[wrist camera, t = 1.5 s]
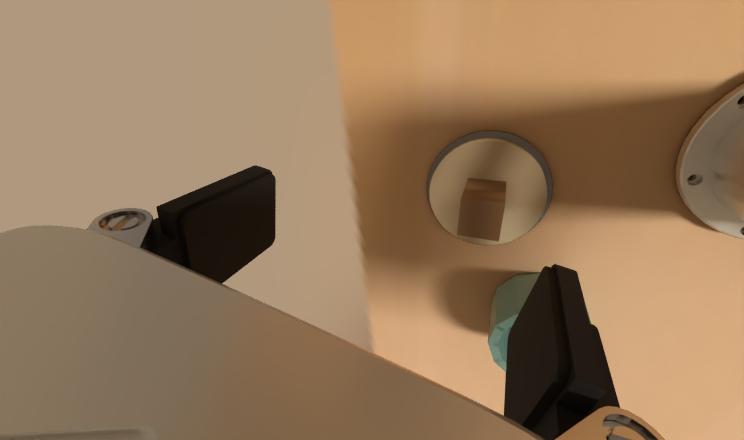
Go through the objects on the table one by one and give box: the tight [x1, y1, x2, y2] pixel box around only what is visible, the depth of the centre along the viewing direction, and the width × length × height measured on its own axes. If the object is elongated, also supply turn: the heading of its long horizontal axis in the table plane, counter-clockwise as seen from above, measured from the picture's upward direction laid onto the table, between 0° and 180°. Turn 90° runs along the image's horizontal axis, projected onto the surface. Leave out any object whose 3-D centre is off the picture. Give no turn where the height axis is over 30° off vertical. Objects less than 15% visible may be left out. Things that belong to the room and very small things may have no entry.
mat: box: [427, 131, 553, 232], centre depth 31 cm, size 11×11×1 cm
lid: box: [429, 138, 547, 245], centre depth 28 cm, size 10×10×6 cm
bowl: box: [488, 273, 591, 372], centre depth 32 cm, size 9×9×6 cm
